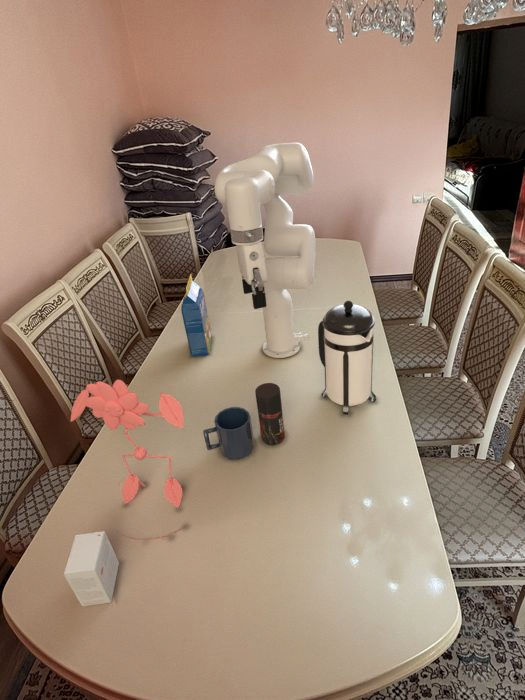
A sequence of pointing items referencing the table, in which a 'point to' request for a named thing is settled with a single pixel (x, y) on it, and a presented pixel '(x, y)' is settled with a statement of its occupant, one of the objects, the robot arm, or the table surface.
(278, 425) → the deodorant
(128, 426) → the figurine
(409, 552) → the table surface
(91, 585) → the small box
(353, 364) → the coffee press
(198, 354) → the blue food package
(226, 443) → the mug
